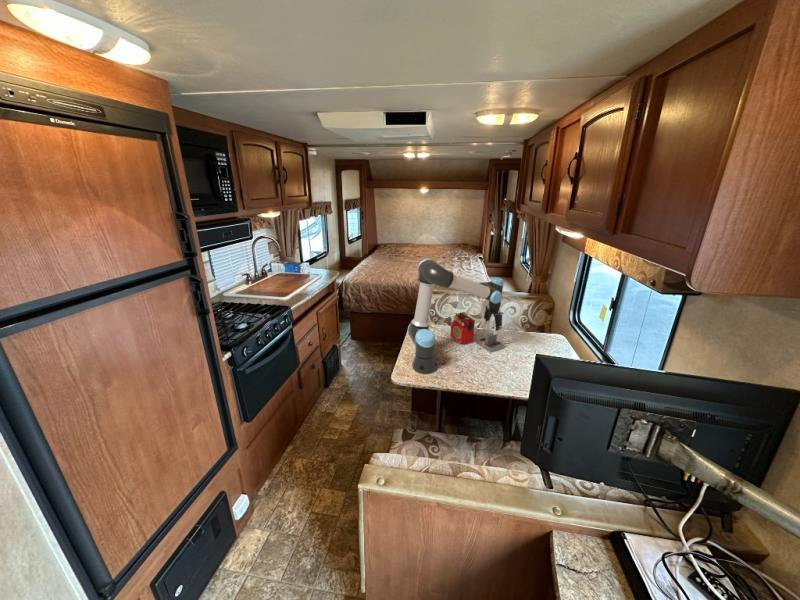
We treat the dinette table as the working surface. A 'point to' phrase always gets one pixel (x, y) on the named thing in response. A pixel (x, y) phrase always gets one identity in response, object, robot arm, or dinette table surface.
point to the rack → (490, 345)
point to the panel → (490, 338)
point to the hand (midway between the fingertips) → (491, 331)
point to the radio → (462, 328)
